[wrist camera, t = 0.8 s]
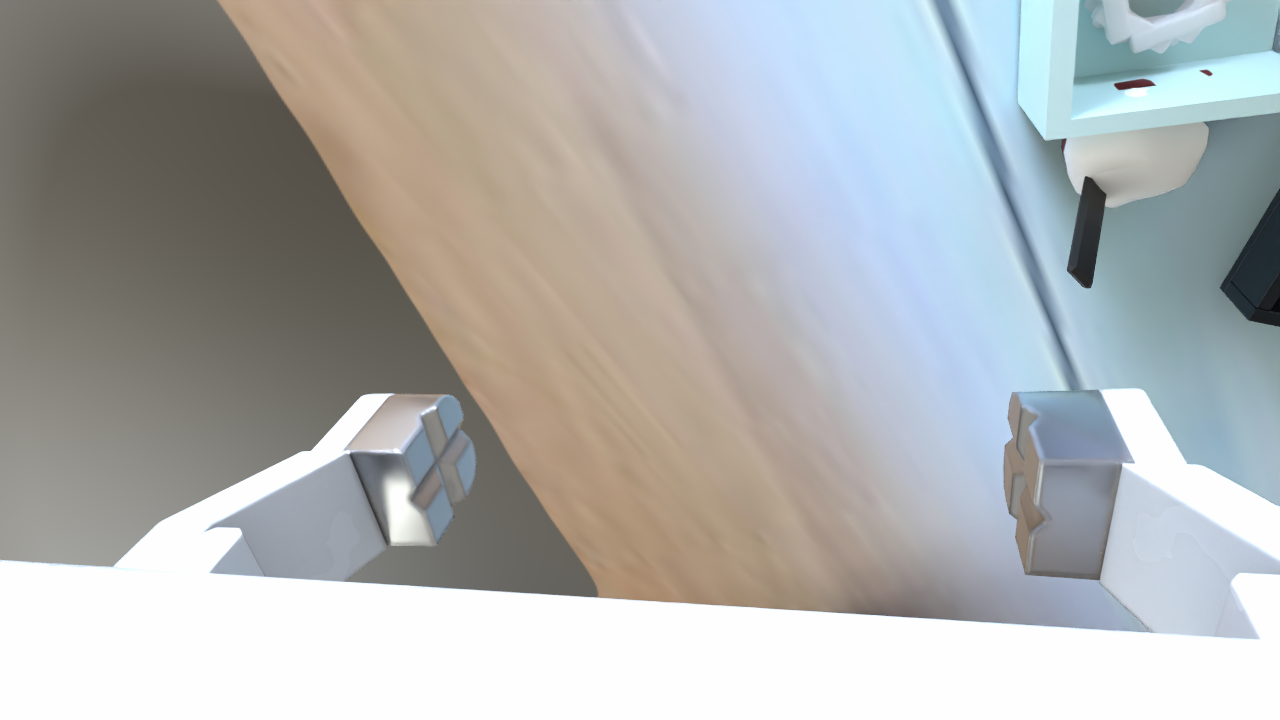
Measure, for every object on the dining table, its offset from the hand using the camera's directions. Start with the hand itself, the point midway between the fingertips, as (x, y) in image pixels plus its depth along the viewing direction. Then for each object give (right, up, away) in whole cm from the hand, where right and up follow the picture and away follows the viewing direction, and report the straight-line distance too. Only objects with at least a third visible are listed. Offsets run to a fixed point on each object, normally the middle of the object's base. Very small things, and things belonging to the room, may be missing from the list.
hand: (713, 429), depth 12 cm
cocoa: (+25, +14, +33) cm, 44 cm away
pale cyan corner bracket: (+25, +21, +29) cm, 43 cm away
